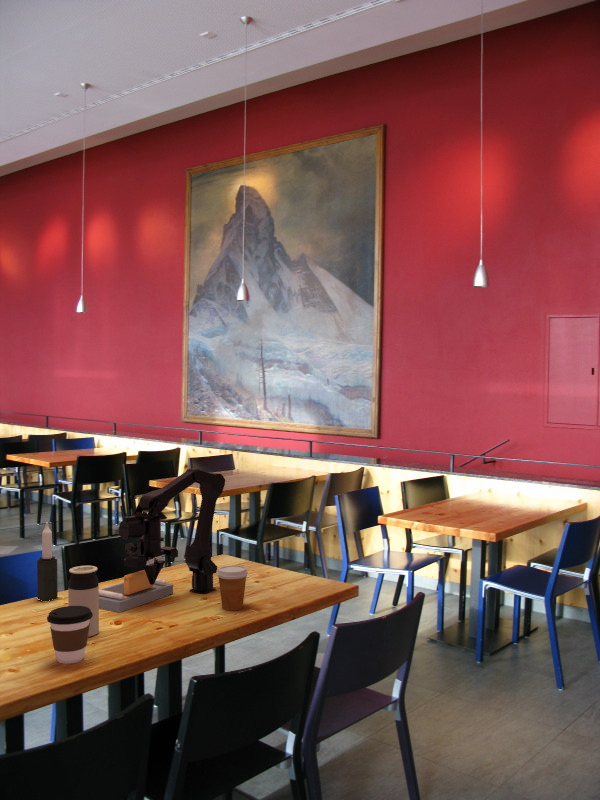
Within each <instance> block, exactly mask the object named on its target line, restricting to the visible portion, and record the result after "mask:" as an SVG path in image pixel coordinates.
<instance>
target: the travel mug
mask: <svg viewBox="0 0 600 800" xmlns="http://www.w3.org/2000/svg"><path fill="white" fill-rule="evenodd" d="M97 571H98V567H97V566H94V565H80V566H74V567H72V568H71V567H70V569H69V570H68V572H69V573H70V577H69V580H68V584H67V585H68V586H67V587H68V588H67V589H68V606H85V607H88V608H90V610H91V612H92V613H93V616H92V618H91V619H90V622H89V623H90V626H89V633H88V638H91V637H94V636H95V635H97V634H99V632H100V630H99V629H100V622H99V621H100V617H99V615H100V608H99V589H100V588H99V585H100V584H99V581H100V580H99V578H98V576H97Z"/></svg>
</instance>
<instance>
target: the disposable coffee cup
mask: <svg viewBox="0 0 600 800" xmlns="http://www.w3.org/2000/svg"><path fill="white" fill-rule="evenodd" d="M248 573H249V572H248V570H247V567H246V566H243V565H224V566H220V567H218V568H217V571H216V575H217V577H218V584H219V592H220V593H219V594H220V599H221V601H220V602H221V606H222V607H221V608H222V609H223V610H225V611H238V610H239V611H240V610H241V609H243V607H244V601H245V599H244V598H245V589H246V584H247V583H246V582H247V581H246V580H247V576H248Z"/></svg>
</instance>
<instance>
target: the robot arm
mask: <svg viewBox="0 0 600 800" xmlns="http://www.w3.org/2000/svg"><path fill="white" fill-rule="evenodd" d="M193 484H199V493H200V495H201V500H200V501H201V502H200V506H199V514H198V518H197V522H196V523H197V524H196V529H195V535H194V538H193V539H194V540H193V541H192V543H191V544H190V545H189V544H186V547H185V554H184V555H183V558H185V559H184V560H185V561H184V562H185V564H186V565H187V567H188V571H189V572H192V575H191V589H189V592H192V593H199V594H208V593H210V592H213V591H215V590H217V588H216V587H214V574H217V572H218V569H219V567H218V565H216V564H215V562H214V561H213V560H212V550H211V547H210V538H211V532H212V526H213V522H214V518H215V517H214V516H215V511H216V504H217V501H218V500H219V498H220V497H221V495H222V494H223V491H224V489H225V485H226V478H225V477H224V475H223V474H221V473H218V472H209V471H208V472H207V471H204V470H200V468H193V467H192V468H191V467H190V468H187V470H185V472H183V473H181V474H180V475H179V476H177V477H176V478H174V479H173V480H171V481H170V482H169V483H167V484H165V485H164V486H163V487H161V488H159V489H155V490H151V491H149V492H146V493H144V494H143V495H142V496H140V498H139V502H138V504H137V506H136V507H135V509H134V511H133V512H132V514H131V516H123V517H122V521H121V522H119V523H120V524H119V526H118V534H119V536H120V538H121V539H122V540H123V541H124V540H130V539H135V538H136V539H137V538H139V540H138V543H133V542H128V543H125V544H124V545H125V546H124V551H125V554H126V555H129V556H126V557H125V558H124V559H123V560H124V563H123V565H124V567H125V568H126V567H128V568H131V569H132V568H134V569H140V568H142V569H143V570H145V572H146V575H147V578H148V580H149V583H150V585H153V584H154V583H155V581H156V579H158V576H159V575H160V572H162V571H161V570H162V568H163V567H164V565H165V564H166V563H167V561H166V560H164V557H168V556H169V557H170V559H175V558H178V557H179V550H178V549H177V548H176V547H173V546H172V547H171V546H163V547H162V542H164V541H165V537H162V520H166V519H167V518H168V517H167V515H165V514H164V513H163V511H164V510H165V509H166V508H167V507H168V506H169V503H170V501H171V500H173V499H174V498H175V497H177V496H178V495H179V494H181V493H183V492H184V491H185V490H186V489H188V488H189V487H191V486H192V485H193Z"/></svg>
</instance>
